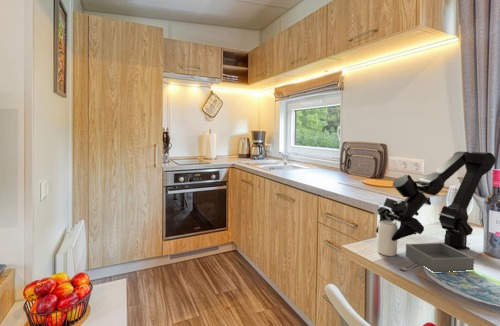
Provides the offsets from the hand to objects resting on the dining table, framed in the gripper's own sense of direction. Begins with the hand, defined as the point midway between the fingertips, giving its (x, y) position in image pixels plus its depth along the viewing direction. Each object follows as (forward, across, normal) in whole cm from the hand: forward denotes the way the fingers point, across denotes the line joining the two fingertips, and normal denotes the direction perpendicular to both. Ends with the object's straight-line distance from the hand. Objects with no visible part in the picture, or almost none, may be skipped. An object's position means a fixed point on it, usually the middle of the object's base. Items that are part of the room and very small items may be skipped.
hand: (384, 236), depth 103 cm
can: (+4, 0, +6) cm, 7 cm away
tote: (-4, +11, +13) cm, 18 cm away
